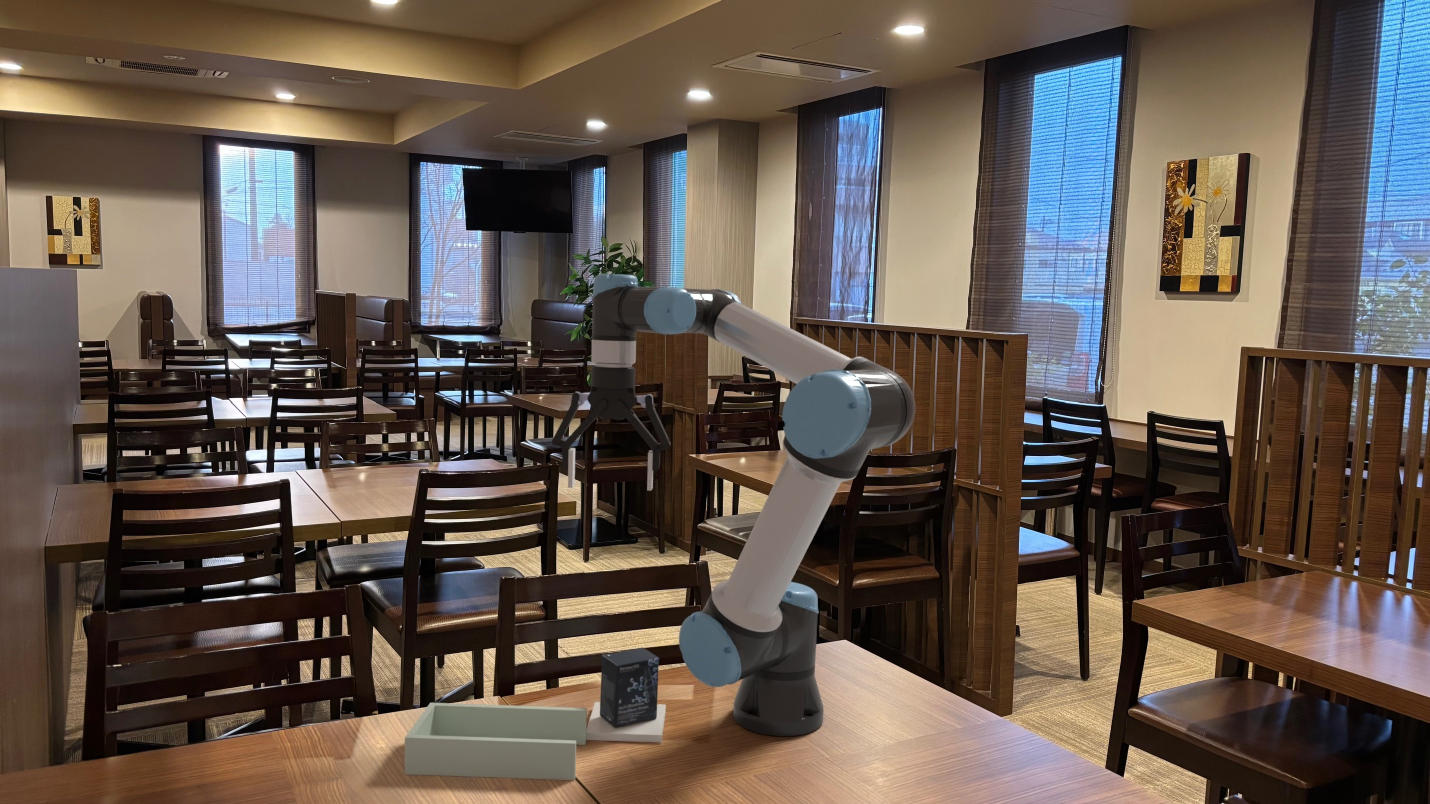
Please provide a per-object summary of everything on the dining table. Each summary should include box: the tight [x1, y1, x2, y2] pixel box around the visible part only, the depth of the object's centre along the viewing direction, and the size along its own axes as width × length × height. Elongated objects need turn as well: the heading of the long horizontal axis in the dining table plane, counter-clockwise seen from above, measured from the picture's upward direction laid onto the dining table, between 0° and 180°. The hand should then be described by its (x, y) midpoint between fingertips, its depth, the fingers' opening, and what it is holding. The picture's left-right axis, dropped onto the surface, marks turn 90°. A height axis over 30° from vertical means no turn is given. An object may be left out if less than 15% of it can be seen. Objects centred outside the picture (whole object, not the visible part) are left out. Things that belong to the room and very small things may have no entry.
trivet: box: [586, 701, 667, 744], centre depth 161 cm, size 12×12×1 cm
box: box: [599, 647, 660, 728], centre depth 161 cm, size 8×6×11 cm
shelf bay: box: [404, 702, 588, 781], centre depth 148 cm, size 24×12×6 cm, turn 90°
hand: (610, 487), depth 171 cm, fingers open, 13 cm apart
